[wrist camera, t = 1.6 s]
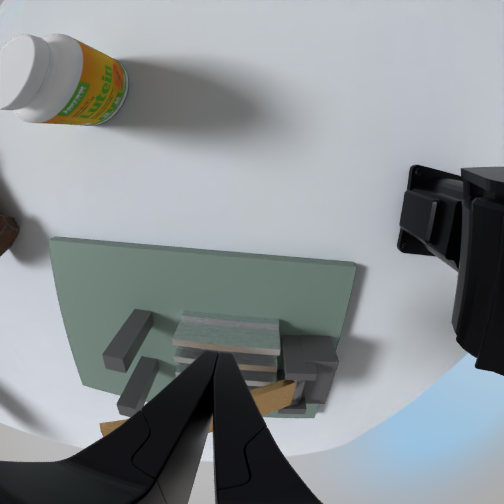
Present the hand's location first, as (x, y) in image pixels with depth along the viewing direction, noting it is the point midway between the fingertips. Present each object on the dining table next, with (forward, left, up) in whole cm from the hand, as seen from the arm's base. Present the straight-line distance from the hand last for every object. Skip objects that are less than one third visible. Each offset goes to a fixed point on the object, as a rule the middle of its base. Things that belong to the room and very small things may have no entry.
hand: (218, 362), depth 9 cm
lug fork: (+7, +9, -12) cm, 16 cm away
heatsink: (0, +9, -12) cm, 15 cm away
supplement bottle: (+11, -11, -13) cm, 20 cm away
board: (+4, +9, -13) cm, 16 cm away
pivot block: (-5, +9, -12) cm, 15 cm away
